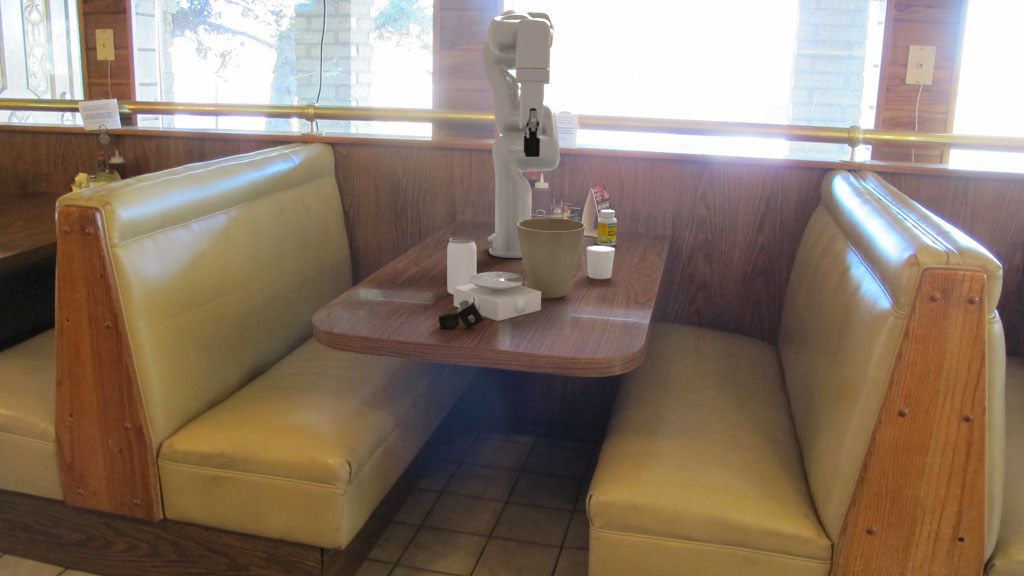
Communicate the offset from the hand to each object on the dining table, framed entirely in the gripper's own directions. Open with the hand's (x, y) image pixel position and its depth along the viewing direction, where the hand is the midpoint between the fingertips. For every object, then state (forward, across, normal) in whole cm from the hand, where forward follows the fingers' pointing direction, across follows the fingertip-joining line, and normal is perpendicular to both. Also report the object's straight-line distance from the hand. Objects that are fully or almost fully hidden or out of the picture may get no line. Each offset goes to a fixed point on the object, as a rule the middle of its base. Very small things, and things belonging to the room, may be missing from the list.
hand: (531, 154), depth 191 cm
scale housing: (+30, +22, -8) cm, 38 cm away
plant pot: (+30, +11, +4) cm, 32 cm away
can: (+30, +10, -16) cm, 35 cm away
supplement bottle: (+28, -43, +24) cm, 56 cm away
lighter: (+31, +36, -15) cm, 50 cm away
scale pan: (+26, +22, -8) cm, 34 cm away
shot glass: (+30, -6, +17) cm, 35 cm away
